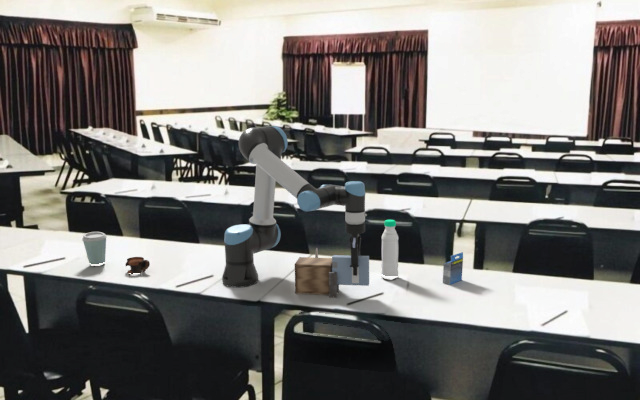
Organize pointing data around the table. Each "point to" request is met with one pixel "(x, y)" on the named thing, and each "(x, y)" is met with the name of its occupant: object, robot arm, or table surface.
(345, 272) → the door
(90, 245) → the disposable coffee cup
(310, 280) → the cabinet
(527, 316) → the table surface
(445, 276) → the label tape box
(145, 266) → the pottery mug
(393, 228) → the water bottle
